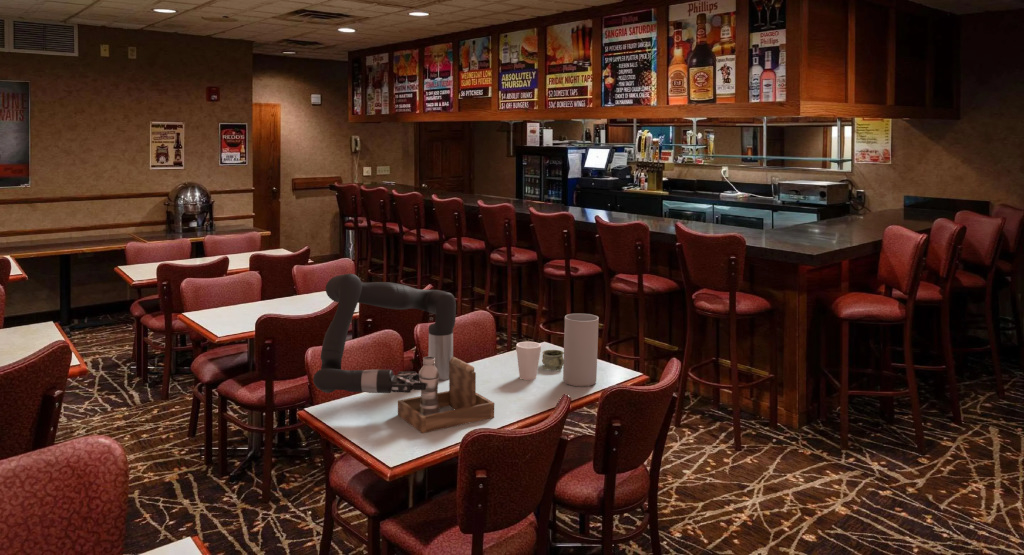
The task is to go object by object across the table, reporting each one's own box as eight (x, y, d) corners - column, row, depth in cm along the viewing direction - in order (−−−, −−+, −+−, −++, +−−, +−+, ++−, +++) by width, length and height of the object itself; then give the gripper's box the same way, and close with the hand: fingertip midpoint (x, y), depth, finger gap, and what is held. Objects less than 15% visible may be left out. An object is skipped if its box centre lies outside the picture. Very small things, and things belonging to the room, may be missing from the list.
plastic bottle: (436, 421, 241) (436, 361, 237) (416, 419, 242) (415, 360, 239) (442, 414, 247) (442, 356, 244) (422, 412, 248) (422, 354, 245)
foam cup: (512, 379, 284) (512, 346, 282) (520, 372, 293) (520, 340, 290) (535, 382, 281) (536, 349, 279) (543, 375, 290) (544, 343, 287)
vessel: (571, 369, 299) (571, 353, 298) (555, 373, 293) (555, 357, 292) (550, 362, 308) (550, 347, 307) (534, 366, 302) (534, 351, 301)
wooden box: (397, 415, 246) (397, 363, 243) (467, 401, 260) (467, 351, 257) (422, 433, 231) (421, 378, 228) (494, 417, 245) (494, 365, 242)
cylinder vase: (562, 376, 289) (564, 313, 285) (594, 377, 289) (597, 313, 284) (563, 386, 277) (565, 320, 272) (597, 387, 277) (600, 321, 272)
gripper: (373, 377, 235) (424, 377, 235) (381, 363, 249) (429, 364, 249) (373, 399, 236) (425, 400, 236) (381, 385, 250) (430, 385, 250)
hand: (427, 381), depth 243 cm, fingers open, 8 cm apart
